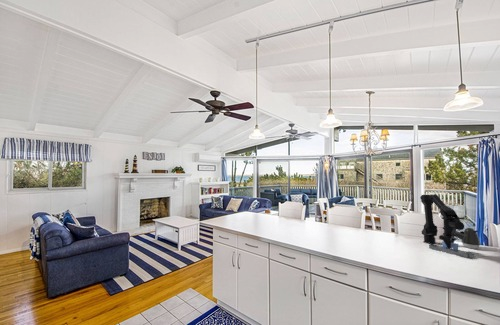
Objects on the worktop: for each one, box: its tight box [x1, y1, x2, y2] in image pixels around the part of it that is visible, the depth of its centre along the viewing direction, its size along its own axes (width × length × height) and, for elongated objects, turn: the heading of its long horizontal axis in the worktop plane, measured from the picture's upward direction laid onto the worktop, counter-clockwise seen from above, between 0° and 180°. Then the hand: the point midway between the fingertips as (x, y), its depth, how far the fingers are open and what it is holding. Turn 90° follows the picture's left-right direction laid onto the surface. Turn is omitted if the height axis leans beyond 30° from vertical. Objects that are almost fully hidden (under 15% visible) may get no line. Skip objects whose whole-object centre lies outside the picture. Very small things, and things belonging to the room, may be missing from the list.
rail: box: [428, 243, 475, 260], centre depth 157 cm, size 24×6×2 cm, turn 30°
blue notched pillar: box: [441, 240, 459, 251], centre depth 158 cm, size 8×3×6 cm, turn 30°
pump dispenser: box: [460, 227, 481, 250], centre depth 168 cm, size 10×10×15 cm
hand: (450, 248), depth 158 cm, fingers closed on blue notched pillar, 3 cm apart
